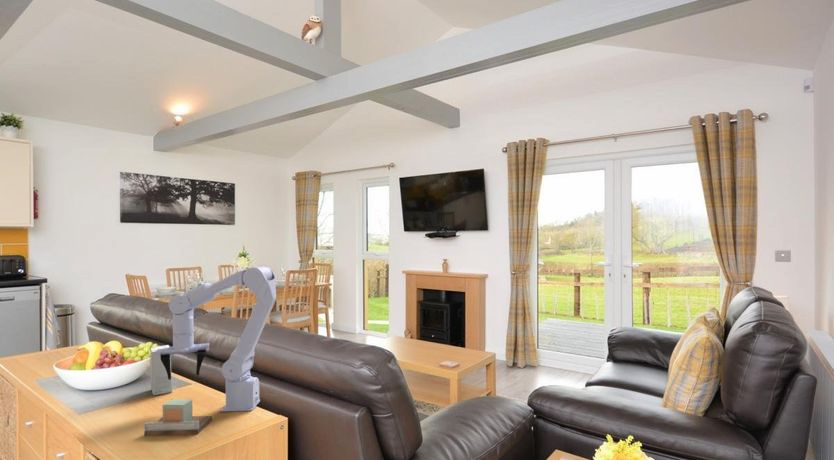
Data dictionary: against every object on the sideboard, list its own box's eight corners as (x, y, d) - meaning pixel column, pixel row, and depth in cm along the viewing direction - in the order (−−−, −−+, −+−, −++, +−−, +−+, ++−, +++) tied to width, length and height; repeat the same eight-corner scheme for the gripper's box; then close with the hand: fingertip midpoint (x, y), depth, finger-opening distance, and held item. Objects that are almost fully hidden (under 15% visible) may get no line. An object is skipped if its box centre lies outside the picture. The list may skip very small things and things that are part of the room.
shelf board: (212, 419, 127) (212, 415, 127) (197, 434, 118) (197, 429, 118) (162, 421, 127) (162, 417, 127) (144, 435, 118) (144, 431, 118)
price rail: (199, 428, 119) (199, 420, 119) (197, 429, 118) (197, 422, 118) (146, 429, 119) (146, 422, 119) (144, 431, 118) (144, 423, 118)
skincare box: (172, 392, 150) (171, 348, 150) (151, 396, 147) (151, 351, 147) (170, 385, 157) (169, 343, 157) (150, 389, 154) (149, 346, 154)
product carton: (172, 420, 124) (171, 399, 124) (192, 421, 124) (192, 399, 124) (162, 427, 120) (162, 405, 120) (183, 427, 120) (183, 405, 120)
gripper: (155, 338, 130) (156, 384, 130) (209, 332, 137) (210, 376, 137) (156, 333, 137) (157, 377, 137) (208, 328, 144) (209, 370, 144)
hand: (183, 376), depth 137 cm, fingers open, 7 cm apart
